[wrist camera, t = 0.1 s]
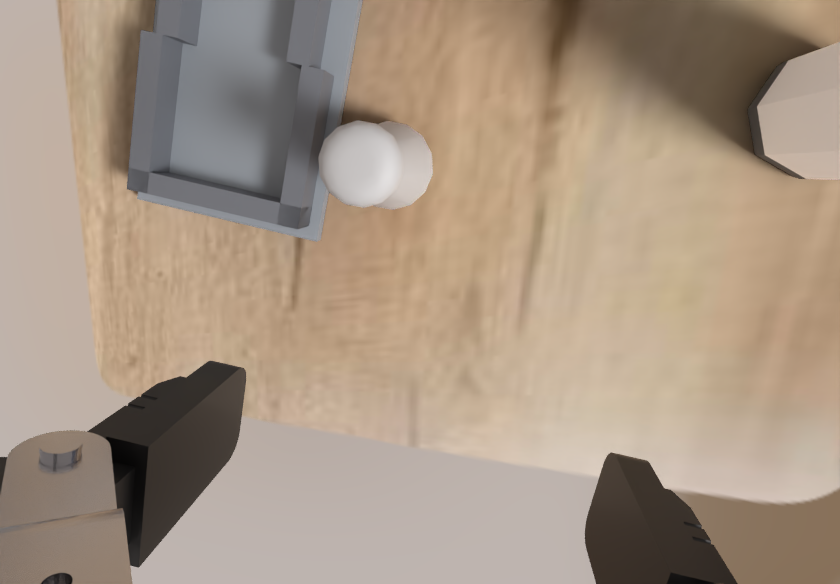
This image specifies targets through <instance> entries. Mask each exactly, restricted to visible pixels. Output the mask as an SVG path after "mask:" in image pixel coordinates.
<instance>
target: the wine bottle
mask: <svg viewBox="0 0 840 584" xmlns="http://www.w3.org/2000/svg"><path fill="white" fill-rule="evenodd" d="M747 110H748V116H749V122H750V128H751V134H752V140H753V146H754V153H755V155H756V156H758V157H760V158H762V159H763V160H765V161H767V162H769V163H770V164H772V165H774V166H776V167H777V168H779V169H781V170H782V171H784V172H786V173H788V174H789V175H791V176H793V177H796V178H799V179H827V180H840V42H838V43H835V44H832V45H830V46H827V47H824V48H821V49H819V50H816V51H813V52H810V53H808V54H805V55H802V56H799V57H796V58H794V59H791V60H788V61H786V62H783V63H781V64H780V65H778V66H777V67H776V68H775V70H774V71H773V73H772V74H771V75H770V77H769V78H768V80H767V81H766V83H765V84H764V86H763V87H762V89H761V90H760V92H759V93H758V95H757V96H756V98H755V99H754V100H753V102H752V103H751V105H750V106H749V108H748V109H747Z"/></svg>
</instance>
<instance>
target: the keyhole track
mask: <svg viewBox="0 0 840 584" xmlns="http://www.w3.org/2000/svg"><path fill="white" fill-rule="evenodd" d="M362 1H363V0H156V5H155V16H154V27H153V32H148V31H144V30H141V35H140V46H139V58H138V69H137V80H136V91H135V103H134V114H133V125H132V136H131V148H130V159H129V170H128V181H127V189H129V190H133V191H137V192H138V197H137V199H140V200H144V201H148V202H152V203H157V204H161V205H165V206H169V207H173V208H178V209H182V210H186V211H190V212H194V213H199V214H203V215H207V216H211V217H215V218H220V219H224V220H228V221H232V222H236V223H241V224H245V225H249V226H253V227H257V228H262V229H266V230H270V231H274V232H278V233H283V234H287V235H291V236H295V237H299V238H304V239H308V240H312V241H316V242H317V241H319V240H320V239H321V234H322V228H323V222H324V217H325V211H326V205H327V200H328V194H329V191H328V190H327V188H326V186H325V184H324V183H323V181H322V179H321V177H320V173H319V159H318V157H319V154H320V151H321V148H322V145H323V142H324V140H325V139H326V138H327V137H328V136H329V135H330V134H331V133H332V132H333V131H334V130H335V129H336V128H337V127H339V126H341V120H342V115H343V109H344V103H345V98H346V92H347V86H348V81H349V75H350V69H351V64H352V58H353V52H354V47H355V41H356V35H357V30H358V24H359V18H360V13H361V7H362Z"/></svg>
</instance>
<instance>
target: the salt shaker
mask: <svg viewBox="0 0 840 584" xmlns="http://www.w3.org/2000/svg"><path fill="white" fill-rule="evenodd" d="M318 159H319V173H320V177H321V179H322V181H323V183H324V184H325V186H326V188H327V190H328V191H329V193H331V194H332V195H333V196H335V197H336V198H337V199H339V200H340V201H341V202H343V203H344V204H346V205H352V206H358V207H363V208H364V207H368V206H372V205H373V206H374V207H380V208H386V209H391V210H394V209H397V208H401V207H405V206H409V205H411V204H412V203H414V202H415V201H416V200H417V199H418V198H419V197H420V196H421V195H422V194H424V193H425V191H426V189H427V186H428V184H429V182H430V179H431V177H432V175H433V168H432V153H431V151H430V149H429V147H428V146H427V144H426V142H425V140H424V138H423V136H422V135H420V134H419V133H418V132H416V131H415V130H414V129H412V128H411V127H410V126H408V125H407V124H402V123H397V122H391V121H385V122H382V123H379V124H375V123H370V122H365V121H360V120H357V121H354V122H351V123H348V124H344V125H341V126H339V127H337V128H336V129H335V130H334V131H333V132H332V133H331V134H330V135H329V136H328V137H327V138H326V139H325V140H324V142H323V145H322V148H321V151H320V154H319V157H318Z"/></svg>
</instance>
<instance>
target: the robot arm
mask: <svg viewBox="0 0 840 584" xmlns="http://www.w3.org/2000/svg"><path fill="white" fill-rule="evenodd" d="M245 384H246V371H245V369H244V368H241V367H237V366H232V365H228V364H223V363H219V362H215V361H209V362H207V363H206V364H204V365H203V366H202V367H200V368H199V369H197V370H196V371H195V372H193V373H192V374H191V375H189V376H188V377H187V378H185V377H181V376H180V377H177V378H174V379H170V380H167V381H164V382H161V383H158V384H156V385H155V386H153V387H152V388H150V389H149V390H147V391H146V392H145V393H143V394H142V395H141V397H137V398H136V399H134V400H133V401H132V402H130V403H129V404H128V406H124V407H123V408H121V409H120V410H118V411H117V412H115V413H114V414H113V415H111V416H109V417H108V418H106V419H105V420H104V421H102V422H101V423H99V424H98V425H97V426H95V427H93V428H92V429H90V430H89V431H87V432H85V431H71V430H70V431H57V432H51V433H46V434H42V435H39V436H35V437H33V438H30V439H28V440H26V441H24V442H22V443H20V444H19V445H17V446H16V447H15V448H14V449H12V450H11V452H10V453H9V455H8V457H0V584H132V577H131V568H130V565H131V566H135V567H140V565H141V564H142V563H143V562H144V561H145V559H146V558H147V557H148V556H149V555H150V554H151V552H152V551H153V550H154V549H155V548H156V546H157V545H158V544H159V543H160V542H161V541H162V539H163V538H164V537H165V536H166V535H167V533H168V532H169V531H170V530H171V528H172V527H173V526H174V525H175V524H176V523H177V522H178V520H179V519H180V518H181V517H182V516H183V514H184V513H185V512H186V511H187V510H188V508H189V507H190V506H191V505H192V504H193V503H194V501H195V500H196V499H197V498H198V497H199V495H200V494H201V493H202V492H203V491H204V489H205V488H206V487H207V486H208V485H209V484H210V482H211V481H212V480H213V478H215V476H216V475H217V474H218V473H219V472H220V470H221V469H222V468H223V467H224V466H225V464H226V463H227V462H228V461H229V459H230V458H231V456H232V454H233V452H234V450H235V447H236V444H237V440H238V437H239V432H240V424H241V416H242V408H243V400H244V392H245ZM585 544H586V548H587V552H588V556H589V559H590V563H591V567H592V570H593V574H594V577H595V580H596V584H737V582H736V580H735V579H734V577H733V576H732V574H731V573H730V571H729V569H728V568H727V566H726V564H725V563H724V561H723V559H722V558H721V556H720V555H719V553H718V551H717V550H716V548H715V547H714V545H712V544H711V540H710V538H709V537H708V535H707V534H706V532H705V530H704V529H701V524H700V522H699V521H698V519H697V518H696V516H695V514H694V513H693V511H692V510H691V508H690V507H689V506H688V505H687V504H686V503H685V502H683V501H682V500H681V499H680V498H679V497H678V496H677V495H676V494H675V493H674V492H672V491H671V490H668V489H664V487H663V486H662V484H661V482H660V481H659V479H658V477H657V475H656V474H655V472H654V470H653V468H652V467H651V465H650V463H649V462H648V461H646V460H642V459H637V458H633V457H629V456H624V455H620V454H615V453H610V454H609V455H608V456H607V457H606V459H605V462H604V464H603V468H602V471H601V474H600V477H599V480H598V484H597V487H596V490H595V493H594V496H593V500H592V503H591V506H590V510H589V512H588V516H587V521H586V528H585Z"/></svg>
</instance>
